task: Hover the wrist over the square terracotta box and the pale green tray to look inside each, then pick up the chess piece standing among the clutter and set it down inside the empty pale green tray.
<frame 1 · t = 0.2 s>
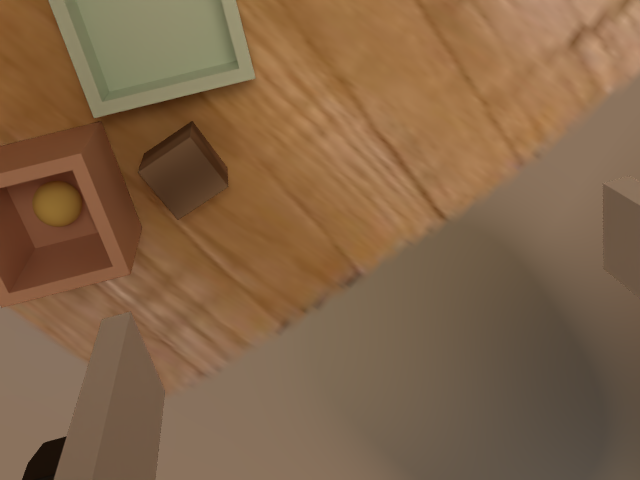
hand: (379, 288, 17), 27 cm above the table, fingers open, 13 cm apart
square terracotta box: (65, 191, 42), on the table
walnut block: (186, 160, 43), on the table
green tray: (153, 7, 38), on the table
yellow ball: (62, 195, 41), point 1 cm above the table, touching square terracotta box
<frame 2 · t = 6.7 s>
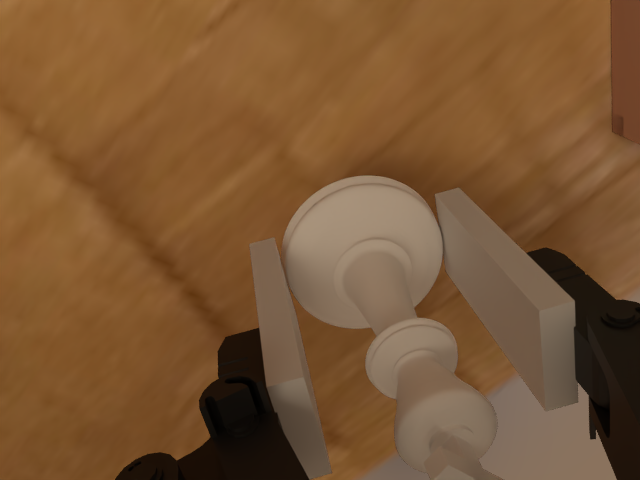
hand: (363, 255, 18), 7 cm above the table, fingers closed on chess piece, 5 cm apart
chess piece: (359, 248, 19), point 6 cm above the table, touching gripper
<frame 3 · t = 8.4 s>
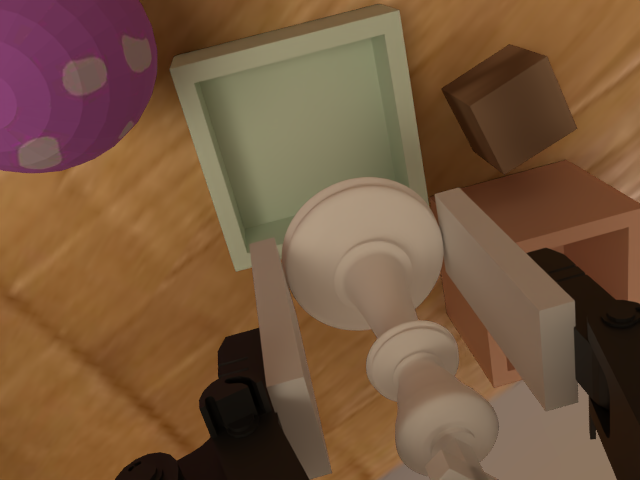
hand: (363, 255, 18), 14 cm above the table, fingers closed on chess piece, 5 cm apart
square terracotta box: (504, 240, 36), on the table
walnut block: (490, 99, 32), on the table
chess piece: (360, 249, 19), point 14 cm above the table, touching gripper
green tray: (301, 130, 31), on the table
toy: (95, 27, 28), on the table
when the fingers open (4 cm above the table, at t = 10.4 s): chess piece drops 3 cm, resting on green tray.
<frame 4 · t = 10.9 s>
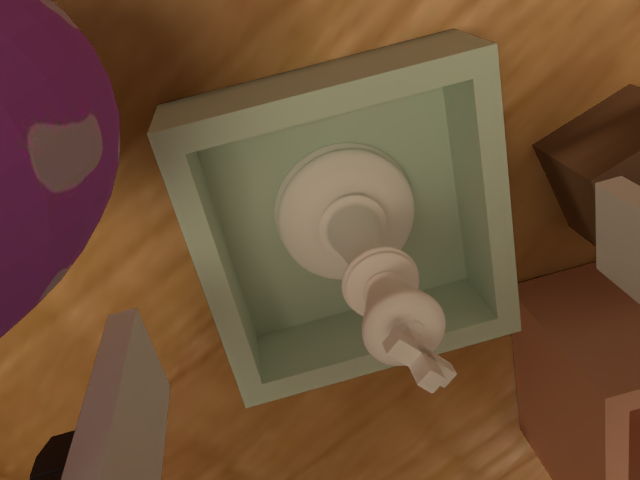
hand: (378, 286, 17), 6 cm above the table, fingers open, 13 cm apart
square terracotta box: (600, 338, 27), on the table
walnut block: (596, 157, 23), on the table
chess piece: (342, 208, 22), resting on green tray
green tray: (338, 203, 22), on the table
toy: (41, 65, 19), on the table
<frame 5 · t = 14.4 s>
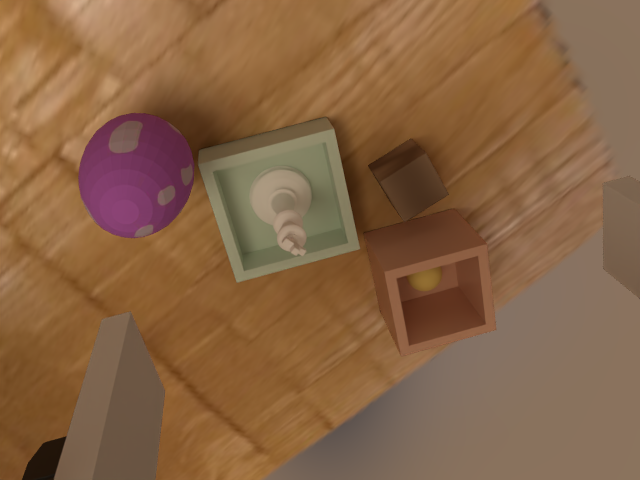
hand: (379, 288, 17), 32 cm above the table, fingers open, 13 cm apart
square terracotta box: (416, 260, 54), on the table
walnut block: (400, 171, 50), on the table
chess piece: (280, 194, 49), resting on green tray
green tray: (278, 192, 49), on the table
yellow ball: (418, 265, 53), point 1 cm above the table, touching square terracotta box
toy: (151, 134, 46), on the table
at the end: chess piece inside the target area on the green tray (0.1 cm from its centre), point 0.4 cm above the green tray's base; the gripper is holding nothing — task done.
